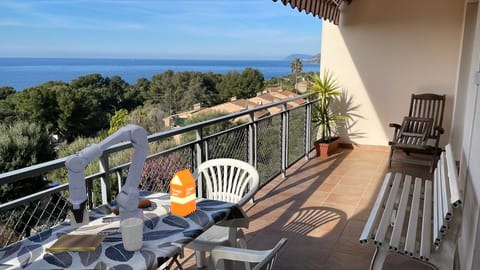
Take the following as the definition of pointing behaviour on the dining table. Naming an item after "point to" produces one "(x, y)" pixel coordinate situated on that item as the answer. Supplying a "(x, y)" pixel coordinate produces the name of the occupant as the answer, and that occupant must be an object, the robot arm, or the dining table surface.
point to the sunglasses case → (141, 204)
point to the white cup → (132, 233)
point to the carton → (85, 219)
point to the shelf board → (77, 242)
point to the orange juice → (182, 193)
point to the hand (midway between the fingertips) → (80, 220)
